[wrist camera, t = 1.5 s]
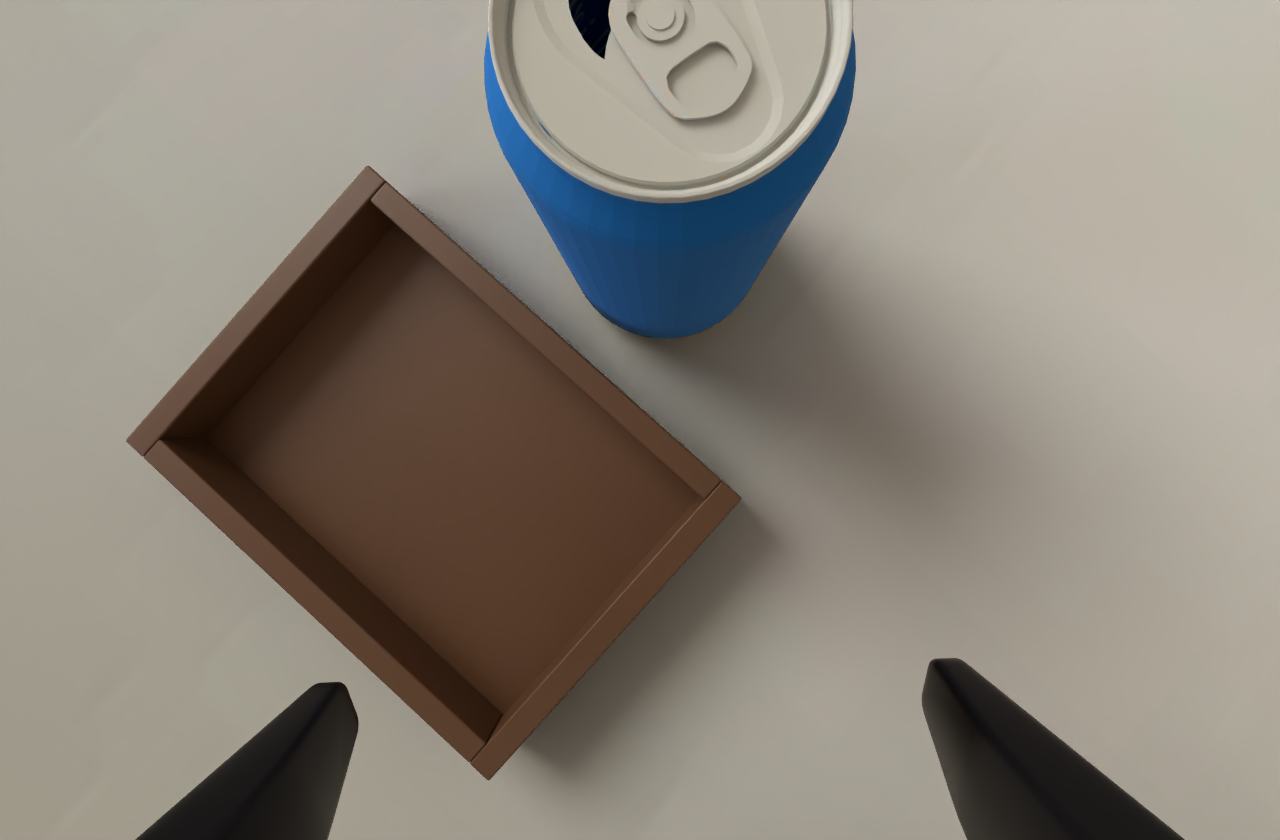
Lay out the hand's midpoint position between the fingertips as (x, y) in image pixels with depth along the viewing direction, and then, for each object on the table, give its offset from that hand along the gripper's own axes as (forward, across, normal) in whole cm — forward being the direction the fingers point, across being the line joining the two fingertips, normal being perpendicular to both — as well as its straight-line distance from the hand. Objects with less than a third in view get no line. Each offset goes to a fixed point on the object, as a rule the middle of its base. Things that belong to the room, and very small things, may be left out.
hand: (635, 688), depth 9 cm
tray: (+12, +6, +3) cm, 14 cm away
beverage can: (+15, -1, -4) cm, 16 cm away
